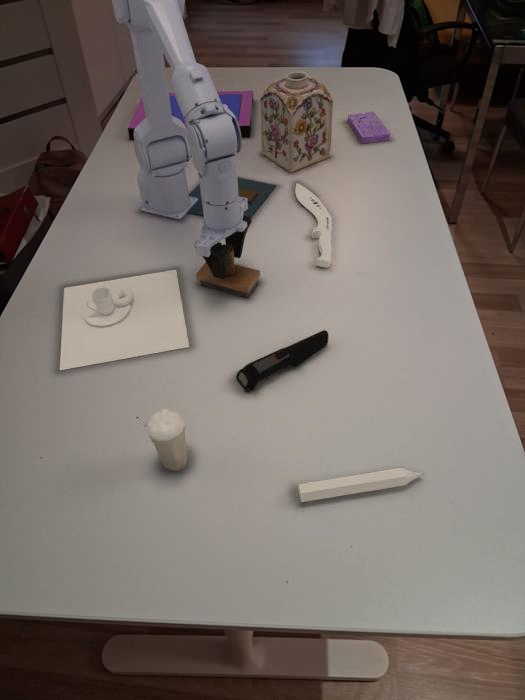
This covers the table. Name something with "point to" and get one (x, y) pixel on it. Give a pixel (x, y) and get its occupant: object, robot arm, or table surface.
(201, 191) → the robot arm
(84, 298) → the teacup and saucer
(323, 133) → the decorative jar
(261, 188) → the mat
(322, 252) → the knife
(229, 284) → the brush
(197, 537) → the table surface
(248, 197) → the grime chip
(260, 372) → the electric trimmer
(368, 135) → the sponge
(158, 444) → the milkshake
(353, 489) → the white pencil
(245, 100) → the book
